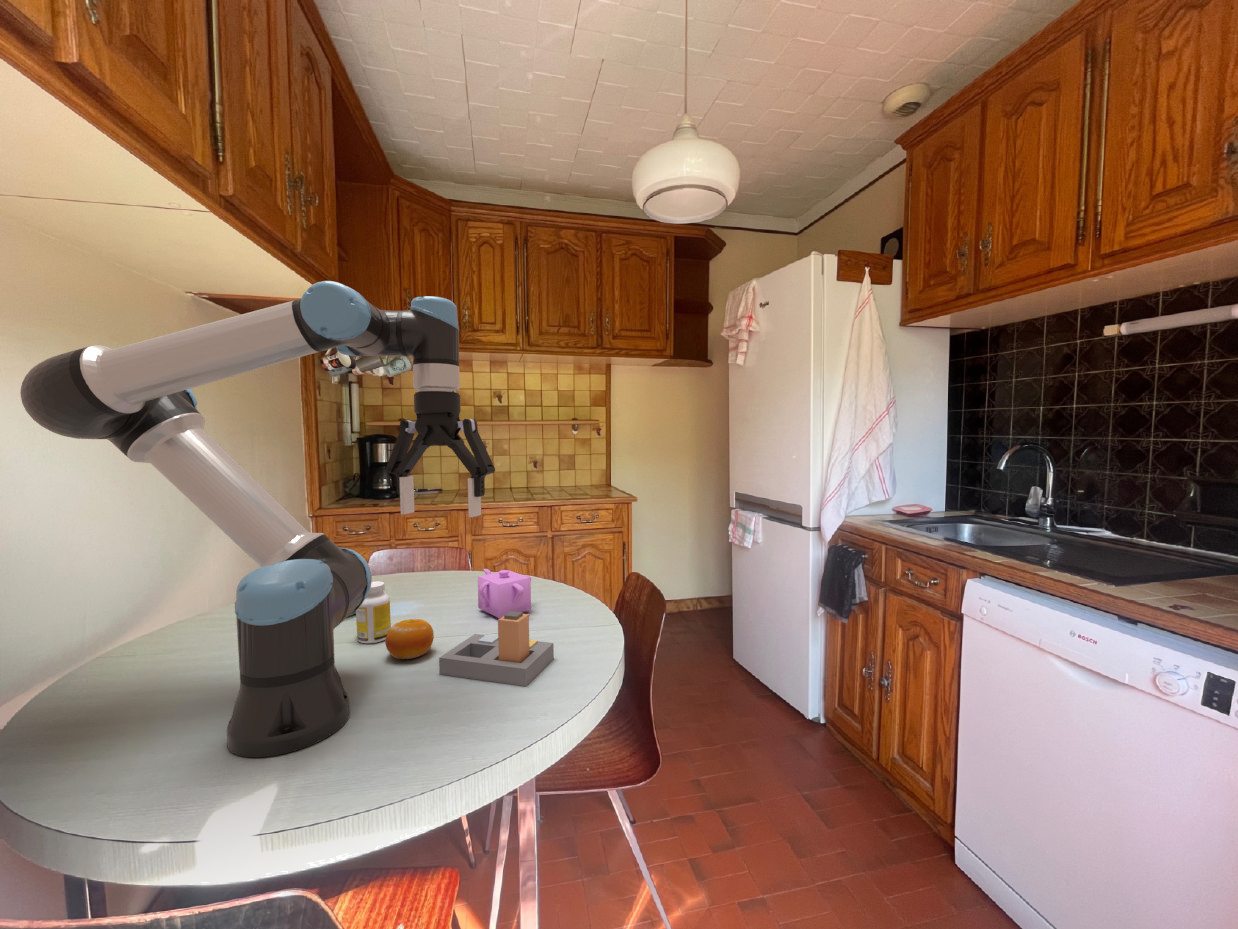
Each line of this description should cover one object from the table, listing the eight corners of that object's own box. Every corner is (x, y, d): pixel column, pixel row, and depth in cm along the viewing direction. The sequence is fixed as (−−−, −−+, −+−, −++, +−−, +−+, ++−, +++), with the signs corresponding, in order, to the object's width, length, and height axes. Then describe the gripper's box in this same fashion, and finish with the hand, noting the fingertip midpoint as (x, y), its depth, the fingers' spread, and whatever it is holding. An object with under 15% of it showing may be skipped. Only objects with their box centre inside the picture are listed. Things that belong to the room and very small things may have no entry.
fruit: (442, 626, 107) (420, 600, 103) (439, 657, 99) (415, 630, 95) (406, 645, 107) (382, 620, 103) (399, 677, 99) (373, 651, 95)
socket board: (526, 686, 88) (525, 666, 88) (439, 674, 93) (439, 655, 93) (553, 658, 99) (553, 640, 99) (475, 648, 104) (474, 632, 104)
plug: (519, 678, 91) (518, 618, 91) (499, 675, 92) (497, 616, 92) (529, 668, 95) (528, 611, 94) (510, 665, 96) (508, 609, 96)
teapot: (461, 608, 128) (460, 568, 128) (510, 596, 138) (510, 558, 137) (498, 628, 115) (497, 583, 115) (550, 613, 125) (549, 571, 124)
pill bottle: (397, 633, 113) (395, 580, 112) (380, 645, 106) (378, 589, 106) (368, 632, 113) (366, 579, 113) (350, 644, 107) (348, 588, 106)
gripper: (513, 390, 89) (515, 513, 90) (391, 395, 96) (395, 509, 98) (490, 387, 82) (493, 520, 83) (361, 392, 89) (365, 515, 90)
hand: (440, 514), depth 90 cm, fingers open, 13 cm apart
